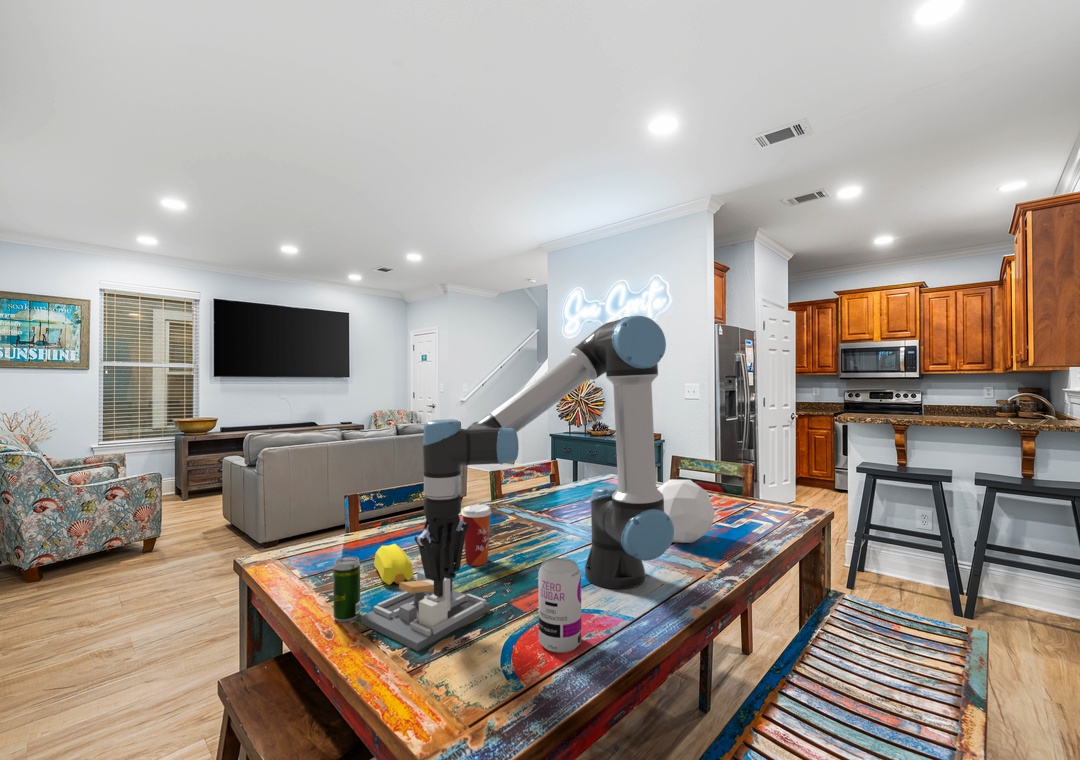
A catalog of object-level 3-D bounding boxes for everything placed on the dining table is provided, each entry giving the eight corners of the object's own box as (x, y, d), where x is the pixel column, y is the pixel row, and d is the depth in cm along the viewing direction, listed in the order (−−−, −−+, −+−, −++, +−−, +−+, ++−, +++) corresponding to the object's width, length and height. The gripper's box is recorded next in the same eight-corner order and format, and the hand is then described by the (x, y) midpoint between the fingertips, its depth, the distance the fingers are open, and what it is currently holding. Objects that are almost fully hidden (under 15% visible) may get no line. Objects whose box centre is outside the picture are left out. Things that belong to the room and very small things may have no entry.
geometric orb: (699, 563, 151) (739, 519, 144) (648, 548, 144) (687, 501, 137) (675, 518, 167) (711, 476, 160) (629, 503, 161) (663, 458, 153)
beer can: (363, 610, 107) (362, 555, 107) (356, 622, 102) (356, 565, 102) (338, 611, 107) (337, 556, 107) (330, 623, 102) (329, 566, 102)
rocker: (452, 591, 108) (454, 582, 108) (410, 597, 98) (412, 587, 99) (440, 587, 110) (442, 578, 110) (398, 592, 101) (399, 582, 101)
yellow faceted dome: (384, 591, 117) (416, 584, 121) (384, 563, 117) (416, 557, 121) (371, 566, 133) (400, 561, 137) (371, 542, 133) (400, 537, 137)
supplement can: (578, 631, 98) (578, 556, 98) (583, 654, 90) (583, 573, 90) (538, 632, 98) (537, 557, 98) (539, 655, 89) (539, 573, 89)
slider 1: (442, 589, 113) (442, 569, 113) (428, 596, 110) (428, 575, 110) (430, 585, 116) (430, 565, 115) (417, 591, 112) (417, 571, 112)
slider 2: (447, 621, 98) (447, 597, 98) (432, 629, 95) (432, 605, 95) (434, 615, 101) (433, 592, 101) (418, 623, 98) (418, 599, 98)
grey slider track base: (490, 610, 107) (489, 582, 107) (417, 651, 91) (417, 619, 91) (434, 589, 118) (433, 564, 118) (360, 623, 102) (360, 594, 102)
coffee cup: (486, 568, 130) (485, 512, 130) (457, 566, 132) (456, 511, 132) (495, 557, 139) (495, 504, 139) (468, 555, 140) (467, 503, 140)
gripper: (452, 487, 108) (453, 593, 108) (404, 499, 97) (405, 617, 97) (477, 491, 103) (478, 602, 103) (430, 504, 93) (431, 628, 93)
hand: (443, 609), depth 100 cm, fingers closed
